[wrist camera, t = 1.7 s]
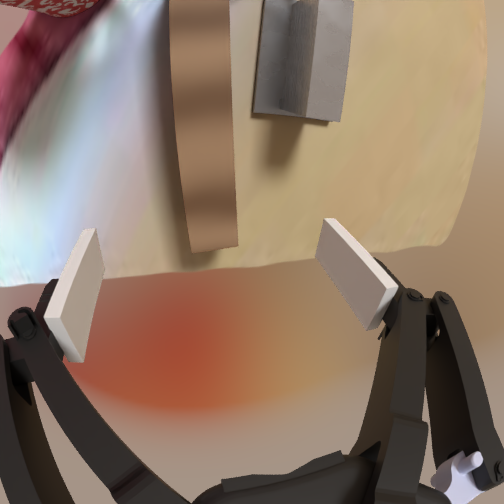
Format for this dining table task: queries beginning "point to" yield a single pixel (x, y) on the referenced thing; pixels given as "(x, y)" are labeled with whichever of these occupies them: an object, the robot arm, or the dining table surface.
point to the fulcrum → (303, 58)
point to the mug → (52, 6)
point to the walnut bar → (204, 120)
